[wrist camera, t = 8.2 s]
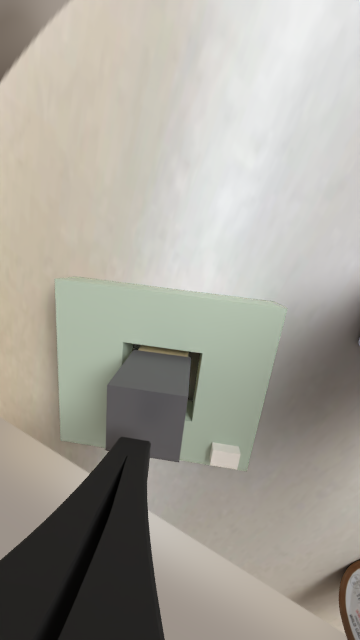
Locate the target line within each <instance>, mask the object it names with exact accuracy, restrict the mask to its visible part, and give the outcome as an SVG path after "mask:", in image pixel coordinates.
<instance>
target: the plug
mask: <svg viewBox="0 0 360 640" xmlns="http://www.w3.org/2000/svg"><path fill="white" fill-rule="evenodd" d="M188 353H189V351H182V350H175V349H168V348H161V347H154V346H147V345H141V347H140V348H139V350H133V351H132V353H131V354H130V355H129V357H128V358H127V359H126V361H125V362H124V363H123V365H122V366H121V367H120V368H119V370H118V371H117V372H116V374H115V375H114V376H113V378H112V379H111V380H110V382H109V383H108V384H107V409H106V450H107V451H110V450H111V448H112V447H113V446H114V444H115V443H116V442H117V440H118V439H119V438H120V437H127V438H133V439H139V440H146V441H149V442H150V443H151V448H150V458H156V459H162V460H168V461H174V462H179V459H180V452H181V445H182V438H183V430H184V423H185V416H186V408H187V401H188V392H189V378H190V365H191V357H188Z"/></svg>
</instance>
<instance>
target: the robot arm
mask: <svg viewBox="0 0 360 640" xmlns="http://www.w3.org/2000/svg"><path fill="white" fill-rule="evenodd" d="M358 343H359V346H360V338H359V342H358ZM150 448H151V443H150V442H149V441H146V440H139V439H133V438H127V437H120V438H119V439H118V440H117V442H116V443H115V444H114V446H113V447H112V448H111V450H110V451H109V452H108V453H107V455H106V456H105V457H104V458H103V459H102V461H101V462H100V463H99V464H98V465H97V467H96V468H95V469H94V470H93V471H92V472H91V473H90V474H89V476H88V477H87V478H86V479H85V480H84V481H83V482H82V484H81V485H80V486H79V487H78V488H77V489H76V490H75V491H74V492H73V493H72V494H71V495H70V496H69V497H68V498H67V499H66V500H65V501H64V502H63V504H61V505H60V506H59V507H58V508H57V509H56V510H55V511H54V512H53V513H52V514H51V515H50V516H49V517H48V518H47V519H46V520H45V521H44V522H43V523H42V524H41V525H40V526H39V527H37V528H36V529H35V530H34V531H33V532H32V533H31V534H30V535H29V536H28V537H27V538H25V539H24V540H23V541H22V542H21V543H20V544H19V545H17V546H16V547H15V548H14V549H13V550H12V551H11V552H9V553H8V554H7V555H6V556H5V557H4V558H2V559H1V560H0V640H165V639H164V633H163V627H162V622H161V615H160V608H159V603H158V597H157V591H156V583H155V577H154V568H153V561H152V553H151V544H150V535H149V534H150V533H149V522H148V506H147V477H148V468H149V458H150Z"/></svg>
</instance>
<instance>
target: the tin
mask: <svg viewBox="0 0 360 640" xmlns="http://www.w3.org/2000/svg"><path fill="white" fill-rule="evenodd" d="M339 608H340V614H341V618H342V622H343V626H344V630H345V633H346V636H347V639H348V640H360V560H358V561H356V562H354V563H353V564H351V565H350V566H349V567H348V568H347V570H346V571H345V573H344V575H343V577H342V580H341V583H340V589H339Z"/></svg>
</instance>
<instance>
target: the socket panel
mask: <svg viewBox="0 0 360 640" xmlns="http://www.w3.org/2000/svg"><path fill="white" fill-rule="evenodd" d="M55 301H56V328H57V356H58V383H59V411H60V438H61V441H66V442H73V443H79V444H85V445H91V446H97V447H103V448H106V409H107V384H108V383H109V382H110V380H111V379H112V378H113V376H114V375H115V374H116V372H117V371H118V370H119V368H120V367H121V366H122V365H123V363H124V362H125V361H126V359H127V358H128V357H129V355H130V354H131V353H132V349H133V344H140V345H147V346H154V347H161V348H168V349H175V350H182V351H189V352H197V353H200V356H199V363H198V370H197V376H196V383H195V390H194V396H193V401H191V400H188V401H187V408H186V416H185V423H184V430H183V438H182V445H181V452H180V459H179V460H181V461H187V462H193V463H199V464H205V465H211V466H217V467H223V468H229V469H235V470H241V471H247V468H248V464H249V460H250V456H251V452H252V448H253V444H254V440H255V436H256V432H257V428H258V424H259V420H260V416H261V412H262V408H263V404H264V400H265V396H266V392H267V388H268V384H269V380H270V376H271V372H272V368H273V364H274V360H275V356H276V352H277V348H278V344H279V340H280V336H281V332H282V328H283V324H284V320H285V316H286V312H287V308H286V307H284V306H282V305H280V304H278V303H275V302H273V301H265V300H257V299H249V298H241V297H233V296H225V295H217V294H209V293H201V292H193V291H185V290H177V289H169V288H161V287H153V286H145V285H137V284H129V283H122V282H114V281H106V280H98V279H90V278H82V277H68V278H58V279H55Z"/></svg>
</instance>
